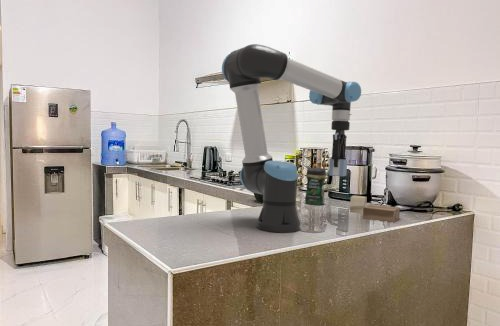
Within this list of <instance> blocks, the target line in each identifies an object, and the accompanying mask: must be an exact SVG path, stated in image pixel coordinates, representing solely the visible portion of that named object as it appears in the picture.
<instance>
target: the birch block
mask: <svg viewBox="0 0 500 326" xmlns="http://www.w3.org/2000/svg"><path fill="white" fill-rule="evenodd" d="M367 199H368V198H367V196H362V195H352V196H350V203H349V204H350V207H349V212H350V213H355V214H363V208H364V207H366V206H367V203H368V202H367Z"/></svg>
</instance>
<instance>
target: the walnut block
mask: <svg viewBox="0 0 500 326" xmlns="http://www.w3.org/2000/svg"><path fill="white" fill-rule="evenodd" d="M400 208H401V207H398V206H397V207H396V206H390V205H388V206H387V205H382V204H381V205H380V204H379V205H378V204H369V205H366V207H364V208H363V213H362V219H363V220H367V221H368V220H370V221H376V220H379V222H384V221H388V222H387V223H391V222H393V223H395V222H396V221H397V219H398V218H399V219H400V214H401V213H400V212H401V211H400V210H401V209H400ZM399 219H398V220H399ZM395 220H396V221H395ZM394 221H395V222H394Z"/></svg>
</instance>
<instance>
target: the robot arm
mask: <svg viewBox="0 0 500 326" xmlns="http://www.w3.org/2000/svg"><path fill="white" fill-rule="evenodd" d="M221 73H222V76H223V78H224V79H225V80H226V81H227V83H228V85H229V90H230V91H232V92H233V93H234V94H235V101H236V102H235V103H236V106H237V107H236V108H237V113H238V119H239V121H238V122H239V126H240V131H241V137H242V138H241V139H242V144H243V150H244V158H243V159H242V160H241V163H242V167H241V170H240V171H239V172H240V173H239V180H240V183H241V185H242V186H243V188H245V189H246V190H247V191H249V192H251V193H253V194H254V193H258V194H262V195H263V202H262V207H261V209H260V210H261V211H260V213H259V216H258V218H257V225H256V226H257V229H259V230H262V231H265V232H271V233H293V232H298V231H299V230H301V221H300V218H299V214H298V210H297V192H298V191H297V189H298V178H299V177H298V176H299V175H298V168H297V166H296V165H295V164H293V163H292V162H287V161H282V160H274V159H273V156H272V155H271V154H270V153H269V152H268V147H267V142H266V141H267V140H266V135H265V129H264V122H263V115H262V109H261V108H262V107H261V102H260V95H259V88H260V87H261V85H262V82H261V79H270V80H273V81H279V80H282V81H284V82H286V83H290V84H292V85H296V86H298V87H301V88H303V89H306V90H309V92H308V93H309V96H308V97H309V102H311V103H312V104H314V105H318V106H320V105H321V106H330V107H331V108H332V109H331V110H332V111H331V120H332V121H331V130H332V131H335V132H334V133H333V134H332V149H331V158H330V159H334V160H333V174H332V175H339V170H340V160H339V159H344V160H347V157H346V151H347V150H346V148H347V135H346V134H345V133H346V131H349V130H350V120H351V115H352V112H351V103H353V102H356V101H358V100H359V99H360V98H361V95H362V86H361V85H360V84H359V83H358V82H356V81H345V80H341V79H339V78H337V77H334V76H331V75H329V74H327V73H325V72H323V71H320V70H317V69H315V68H313V67H310V66H309V65H306V64H303V63H301V62H298V61H296V60H293V59H291V58H289V56H288V55H287V54H286V53H285V52H283V51H279V50H278V49H275V48H272V47H269V46H268V45H267V46H266V45H262V44H257V43H256V44H255V43H253V44H248V45H246V46H244V47H241V48H238V49H235V50H233V51H232V52H230V53H229V54H227V55H226V56H225V57H224V59H223V62H222V65H221Z"/></svg>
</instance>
